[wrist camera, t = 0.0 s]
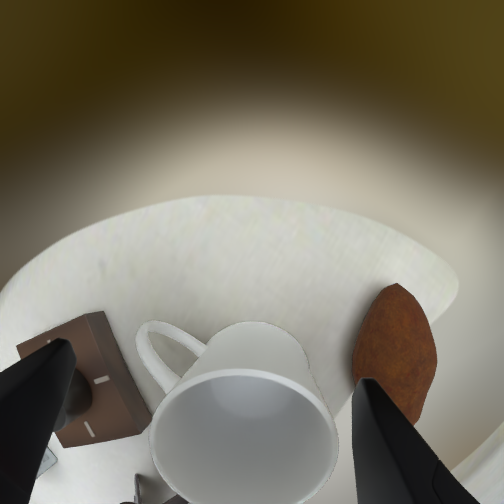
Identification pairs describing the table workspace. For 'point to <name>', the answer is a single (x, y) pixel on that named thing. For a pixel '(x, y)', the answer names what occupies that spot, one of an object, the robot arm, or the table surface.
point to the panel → (97, 382)
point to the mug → (240, 418)
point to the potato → (397, 350)
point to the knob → (74, 401)
